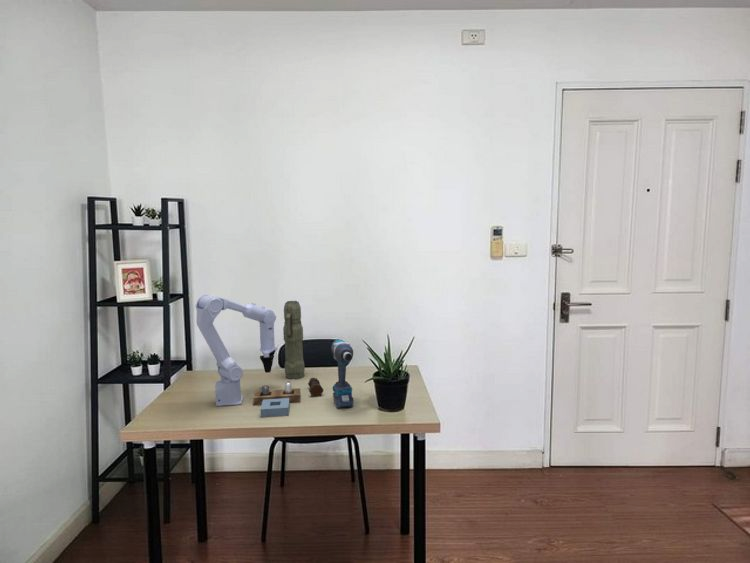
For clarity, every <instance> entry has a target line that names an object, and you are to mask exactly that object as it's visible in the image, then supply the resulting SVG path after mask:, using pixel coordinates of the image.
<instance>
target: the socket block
mask: <svg viewBox="0 0 750 563" xmlns="http://www.w3.org/2000/svg"><path fill="white" fill-rule="evenodd" d="M290 404H291V403H289V398H281V399H265V400H263V401H262V405H260V411H259V412H260V418H267V417H268V418H269V417H270V418H271V417H284V416H285V417H286V416H289V415H290V414H289V413H290V406H291V405H290Z"/></svg>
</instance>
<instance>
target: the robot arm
mask: <svg viewBox="0 0 750 563" xmlns="http://www.w3.org/2000/svg"><path fill="white" fill-rule="evenodd" d="M194 307H195V309H196V326H197V327H198V329H199V332H200V333H201V335H202V336H203V339H204V340H205V342H206V344H207V345H208V346H207V347H209V349H210V351H211V353H212V355H213V356H214V358H215V360H216V363H215V365H216V367H217V374H218V375H219V376H220V380H216V382H215V386H214V387H215V403H216V404H215V406H216V407H220V406H222V407H223V406H234V405H235V406H236V405H237V406H238V405H241V404H242V402H243V400H244V396H242V391H241V388H242V386H241V379H242V377H243V376H244V373H243V372H244V371H243V369H242V367H241V366H240V365H238V364H237V362H236V361H235V360H234V359H233V358H232V357H231V355H230V353H229V351H228V350H227V348H226V346H225V344H224V342H223V341H222V338H221V336H220V335H219V332H218V331H217V328H216V327H215V325H214V321H215V319H216V318H217V317H218V315H219V314H220V313H221V312H222V311H225V310H227V309H229V310H231V311H235V312H239V313H241V314H242V315H243V317H244V318H246V319H247V318H248V319H251V320H253V321H256V322H258V323H259V337H260V338H259V339H260V340H259V341H260V342H259V343H260V350H259V351H260V352H261V353H262V354H263V355H260V356H259V360H260V361H261V362H262V364H263V365H262V366H263V369H264V372H265V374H266V373H271V371H272V367H273V362H274V357H275V353H276V351H277V350H278V346H275V322H276V321H277V315H276V314H275V312H274V311H273V310H271V309H267V308H266V307H264V306H258V305H256V303H253V302H251V303H247V304H245V305H244V304H242V303H239V302H237V301H234V300H231V299H229V298H226V297H225V298H224V297H219V296H210V295H207V294H204V295H201V296H200V297H199V298H198V299H197V300H196V304H195V306H194Z"/></svg>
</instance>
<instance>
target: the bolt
mask: <svg viewBox="0 0 750 563" xmlns="http://www.w3.org/2000/svg"><path fill="white" fill-rule="evenodd" d="M307 385H308V386H309V390H308V392H309V394H310V395H311V396H312V398H318V397H321V396H322V394H323V392H324V389H323V387H322V386H321V382H320V380H318V378H316V377H310V378H309V381H308V383H307Z"/></svg>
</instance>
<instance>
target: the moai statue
mask: <svg viewBox="0 0 750 563" xmlns="http://www.w3.org/2000/svg"><path fill="white" fill-rule="evenodd" d="M283 319H284V322H283V324H284V325H283V330H282V331H283V341H284V351H285V352H284V354H285V355H284V356H285V357H284V358H285V362H284V372H285V376H284V377H285V379H288V380H292V379H295V380H300V379H303V378H304V377H305V369H306V368H305V361H304V352H303V340H304V329H303V328H304V327H303V325H302V308H301V305H300V302H299V301H297V300H289V301H286V302H285V303H284V306H283Z"/></svg>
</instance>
